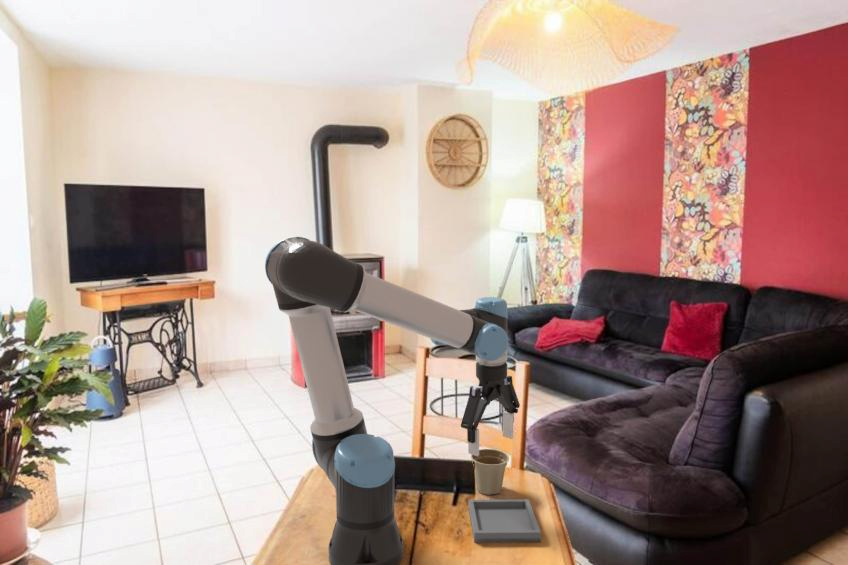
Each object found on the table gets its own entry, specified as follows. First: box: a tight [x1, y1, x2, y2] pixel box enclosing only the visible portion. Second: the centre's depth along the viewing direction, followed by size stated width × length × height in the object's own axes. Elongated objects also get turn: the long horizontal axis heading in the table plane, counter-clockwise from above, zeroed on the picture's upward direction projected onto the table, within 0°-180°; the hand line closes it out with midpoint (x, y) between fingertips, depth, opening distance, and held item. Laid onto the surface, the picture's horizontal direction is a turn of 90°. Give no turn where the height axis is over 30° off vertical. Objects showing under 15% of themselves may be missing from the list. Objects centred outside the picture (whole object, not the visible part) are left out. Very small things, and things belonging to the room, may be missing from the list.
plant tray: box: [468, 498, 542, 544], centre depth 135 cm, size 14×14×2 cm
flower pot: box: [470, 448, 510, 496], centre depth 151 cm, size 9×9×9 cm
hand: (491, 445), depth 150 cm, fingers open, 13 cm apart
